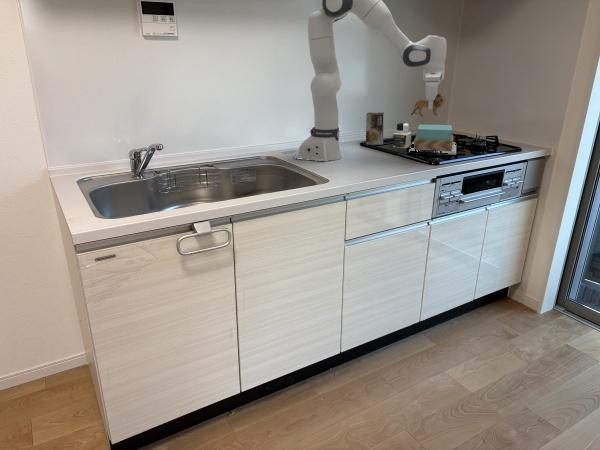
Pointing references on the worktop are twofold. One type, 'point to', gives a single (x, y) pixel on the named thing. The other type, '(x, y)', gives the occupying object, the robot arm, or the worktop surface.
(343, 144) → the worktop surface
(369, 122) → the coffee box
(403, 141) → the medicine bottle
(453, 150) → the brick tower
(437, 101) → the lion figurine
